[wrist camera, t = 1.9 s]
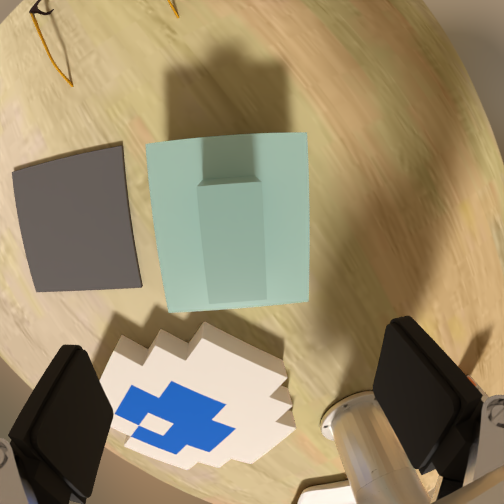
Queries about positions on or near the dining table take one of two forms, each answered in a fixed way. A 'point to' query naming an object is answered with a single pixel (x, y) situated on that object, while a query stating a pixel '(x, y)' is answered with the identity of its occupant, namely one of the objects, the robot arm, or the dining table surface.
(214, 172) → the lid
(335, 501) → the salad plate
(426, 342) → the robot arm
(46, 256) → the mat
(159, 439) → the pixel art tile
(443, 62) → the dining table surface
